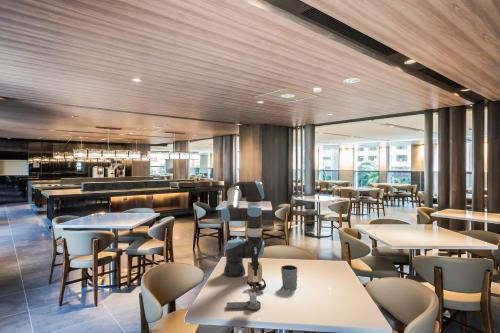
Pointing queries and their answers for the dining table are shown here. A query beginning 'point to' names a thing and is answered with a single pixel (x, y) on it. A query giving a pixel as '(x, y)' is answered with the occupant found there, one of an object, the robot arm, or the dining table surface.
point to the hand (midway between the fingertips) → (254, 278)
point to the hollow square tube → (250, 272)
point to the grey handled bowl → (245, 304)
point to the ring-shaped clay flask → (257, 285)
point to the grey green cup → (289, 277)
